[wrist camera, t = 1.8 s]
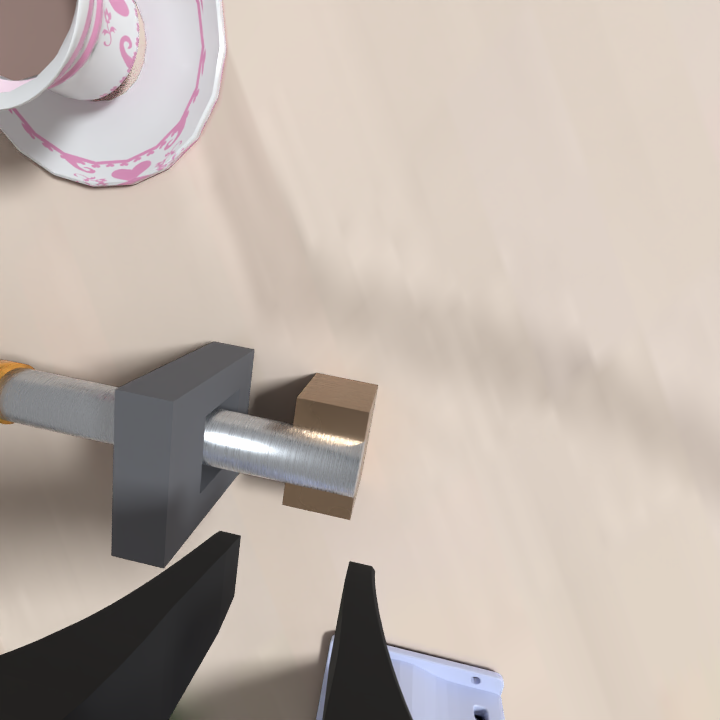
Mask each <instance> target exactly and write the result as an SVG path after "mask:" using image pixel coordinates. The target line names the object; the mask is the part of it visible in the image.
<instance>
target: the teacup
mask: <svg viewBox="0 0 720 720" xmlns="http://www.w3.org/2000/svg"><path fill="white" fill-rule="evenodd" d="M134 2H135V3H136V6H137V8H138V10H139V13H140V15H141V18H142V20H143V23H144V30H145V37H146V50H145V58H144V64H143V66H142V68H141V71H140V73H139V75H138V78H137V80H136V81H135V82H134V83H133V84H132V85H131V87H130V88H129V89H128V90H127V91H126V92H125V93H123V94H121V95H119V96H117V97H116V98H114V99H112V100H103V101H93V100H94V99H99V98H101V97H104V96H106V95H108V94H109V93H111V92H113V91H114V90H115V89H116V88H117V87H119V86H120V85H121V83H122V82H123V81H124V80H125V79H126V77H127V75H128V74H129V72H130V71H131V68H132V66H133V64H134V61H135V58H136V54H137V50H138V43H139V22H138V15H137V10H136V6H135V3H134ZM225 55H226V39H225V29H224V18H223V8H222V0H0V129H1V130H2V132H3V133H4V134H5V135H6V136H7V137H8V139H9V140H10V141H11V142H12V143H13V145H14V146H15V147H16V148H17V149H18V151H20V152H21V153H23V154H24V155H25V156H27V157H28V158H30V159H31V160H33V161H34V162H36V163H37V164H39V165H40V166H42V167H43V168H44V169H46V170H47V171H49V172H50V173H52V174H53V175H56V176H59V177H62V178H66V179H69V180H72V181H76V182H79V183H83V184H86V185H89V186H93V187H104V186H121V185H134V184H137V183H139V182H141V181H143V180H145V179H147V178H150V177H152V176H154V175H156V174H158V173H160V172H163V171H165V170H167V169H169V168H170V167H171V166H172V165H173V164H174V163H175V162H176V161H177V160H178V159H179V158H180V157H181V156H182V155H183V154H184V153H185V152H186V151H187V150H188V149H189V148H190V147H191V146H192V145H193V144H194V143H195V142H196V141H197V140H198V138H199V136H200V134H201V132H202V130H203V128H204V126H205V124H206V122H207V120H208V118H209V116H210V114H211V112H212V110H213V108H214V106H215V104H216V102H217V100H218V96H219V90H220V84H221V78H222V73H223V67H224V61H225Z"/></svg>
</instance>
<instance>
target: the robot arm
mask: <svg viewBox="0 0 720 720" xmlns="http://www.w3.org/2000/svg"><path fill="white" fill-rule="evenodd" d="M240 538H241V536H240V535H235V534H231V533H227V532H223V531H219V532H217V533H216V534H214V535H213V536H212V537H210V538H209V539H208V540H206V541H205V542H204V543H202V544H201V545H200V546H198V547H197V548H196V549H194V550H193V551H192V552H190V553H189V554H187V555H186V556H185V557H183V558H182V559H181V560H179V561H178V562H176V563H175V564H174V565H172V566H171V567H169V568H168V569H166V570H165V571H163V572H162V573H161V574H159V575H158V576H156V577H155V578H153V579H152V580H150V581H149V582H147V583H145V584H144V585H142V586H141V587H139V588H138V589H136V590H134V591H133V592H131V593H130V594H128V595H126V596H125V597H123V598H121V599H120V600H118V601H116V602H115V603H113V604H111V605H109V606H108V607H106V608H104V609H102V610H100V611H98V612H97V613H95V614H93V615H91V616H89V617H87V618H85V619H83V620H81V621H79V622H77V623H75V624H73V625H70V626H68V627H66V628H64V629H62V630H60V631H57V632H55V633H53V634H51V635H49V636H46V637H44V638H42V639H40V640H38V641H35V642H33V643H30V644H28V645H25V646H23V647H20V648H18V649H15V650H13V651H10V652H8V653H5V654H2V655H0V720H169V718H170V716H171V714H172V713H173V711H174V709H175V707H176V706H177V704H178V702H179V700H180V699H181V697H182V695H183V694H184V692H185V690H186V688H187V687H188V685H189V683H190V681H191V680H192V678H193V676H194V674H195V673H196V671H197V669H198V667H199V666H200V664H201V662H202V661H203V659H204V657H205V655H206V653H207V652H208V650H209V648H210V646H211V645H212V643H213V641H214V639H215V638H216V636H217V634H218V632H219V630H220V628H221V625H222V623H223V621H224V619H225V616H226V614H227V612H228V609H229V607H230V605H231V602H232V600H233V598H234V593H235V584H236V575H237V566H238V557H239V547H240ZM473 677H477V678H473ZM503 687H504V682H503V678H502V676H501V675H500V674H499V673H496V672H493V671H489V670H485V669H481V668H477V667H473V666H469V665H465V664H461V663H457V662H453V661H449V660H445V659H441V658H437V657H433V656H429V655H425V654H420V653H416V652H412V651H408V650H404V649H400V648H396V647H392V646H388V645H387V644H386V640H385V636H384V632H383V628H382V623H381V619H380V614H379V609H378V603H377V597H376V589H375V570H374V569H373V567H372V566H368V565H364V564H359V563H355V562H351V561H350V562H349V566H348V570H347V574H346V578H345V583H344V588H343V593H342V599H341V604H340V610H339V615H338V620H337V626H336V631H335V634H334V635H333V636H332V638H331V641H330V646H329V652H328V657H327V663H326V668H325V673H324V679H323V684H322V690H321V695H320V700H319V706H318V711H317V717H316V720H505V717H504V712H503V706H502V700H501V693H502V690H503Z"/></svg>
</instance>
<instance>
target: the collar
mask: <svg viewBox="0 0 720 720" xmlns="http://www.w3.org/2000/svg"><path fill="white" fill-rule="evenodd" d="M253 358H254V349H249V348H244V347H239V346H234V345H229V344H224V343H219V342H212V343H210V344H208V345H206V346H204V347H202V348H199V349H197V350H195V351H193V352H191V353H189V354H187V355H185V356H183V357H181V358H179V359H177V360H175V361H173V362H170V363H168V364H166V365H164V366H162V367H160V368H158V369H156V370H154V371H152V372H150V373H148V374H146V375H144V376H142V377H139V378H137V379H135V380H133V381H131V382H129V383H127V384H125V385H123V386H121V387H119V388H117V389H115V404H114V454H113V504H112V553H111V556H115V557H119V558H123V559H127V560H131V561H136V562H140V563H144V564H148V565H152V566H156V567H160V568H165V566H166V565H167V564H168V563H169V561H170V560H171V559H172V558H173V556H174V555H175V554H176V553H177V551H178V550H179V549H180V547H181V546H182V545H183V544H184V542H185V541H186V540H187V539H188V537H189V536H190V535H191V534H192V532H193V531H194V530H195V529H196V527H197V526H198V525H199V523H200V522H201V521H202V520H203V518H204V517H205V516H206V515H207V513H208V512H209V511H210V510H211V508H212V507H213V506H214V504H215V503H216V502H217V501H218V499H219V498H220V497H221V496H222V494H223V493H224V492H225V491H226V489H227V488H228V487H229V486H230V484H231V483H232V482H233V480H234V479H235V478H236V477H237V475H238V474H239V472H235V471H230V470H226V469H221V468H217V467H212V466H208V465H203V464H202V458H203V445H204V432H205V420H206V416H207V415H208V414H209V413H210V412H212V411H213V410H214V409H215V408H219V409H224V410H228V411H233V412H238V413H243V414H247V415H248V406H249V396H250V387H251V377H252V368H253Z"/></svg>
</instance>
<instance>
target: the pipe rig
mask: <svg viewBox="0 0 720 720" xmlns="http://www.w3.org/2000/svg"><path fill="white" fill-rule="evenodd" d="M117 388H119V387H114V386H109V385H105V384H100V383H95V382H90V381H86V380H81V379H76V378H71V377H67V376H62V375H57V374H52V373H48V372H43V371H38V370H35V369H34V368H33V367H31V366H29V365H26V364H21V363H17V362H12V361H7V360H0V423H2V424H13V423H18V424H23V425H27V426H32V427H36V428H41V429H45V430H50V431H54V432H59V433H63V434H68V435H72V436H77V437H81V438H86V439H91V440H95V441H100V442H104V443H109V444H113V445H114V404H115V389H117ZM377 389H378V385H375V384H370V383H365V382H360V381H355V380H350V379H344V378H339V377H334V376H329V375H324V374H319V373H316V374H315V376H314V377H313V378H312V379H311V381H310V382H309V383H308V384H307V386H306V387H305V388H304V389H303V391H302V392H301V393H300V394H299V395H298V397H297V400H296V407H295V415H294V422H293V424H290V423H285V422H281V421H276V420H271V419H266V418H262V417H257V416H252V415H247V414H243V413H238V412H233V411H228V410H224V409H219V408H215V409H214V410H213V411H212V412H210V413H209V414H208V415H207V416H206V420H205V432H204V445H203V458H202V464H203V465H208V466H212V467H217V468H221V469H226V470H230V471H235V472H239V473H244V474H248V475H253V476H257V477H262V478H266V479H271V480H275V481H280V482H284V483H285V489H284V496H283V504H282V505H286V506H291V507H295V508H299V509H304V510H308V511H313V512H317V513H322V514H326V515H330V516H335V517H339V518H344V519H348V520H350V518H351V514H352V510H353V507H354V503H355V499H356V495H357V491H358V487H359V484H360V480H361V475H362V470H363V464H364V459H365V454H366V448H367V443H368V437H369V432H370V426H371V421H372V416H373V410H374V405H375V399H376V394H377Z"/></svg>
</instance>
